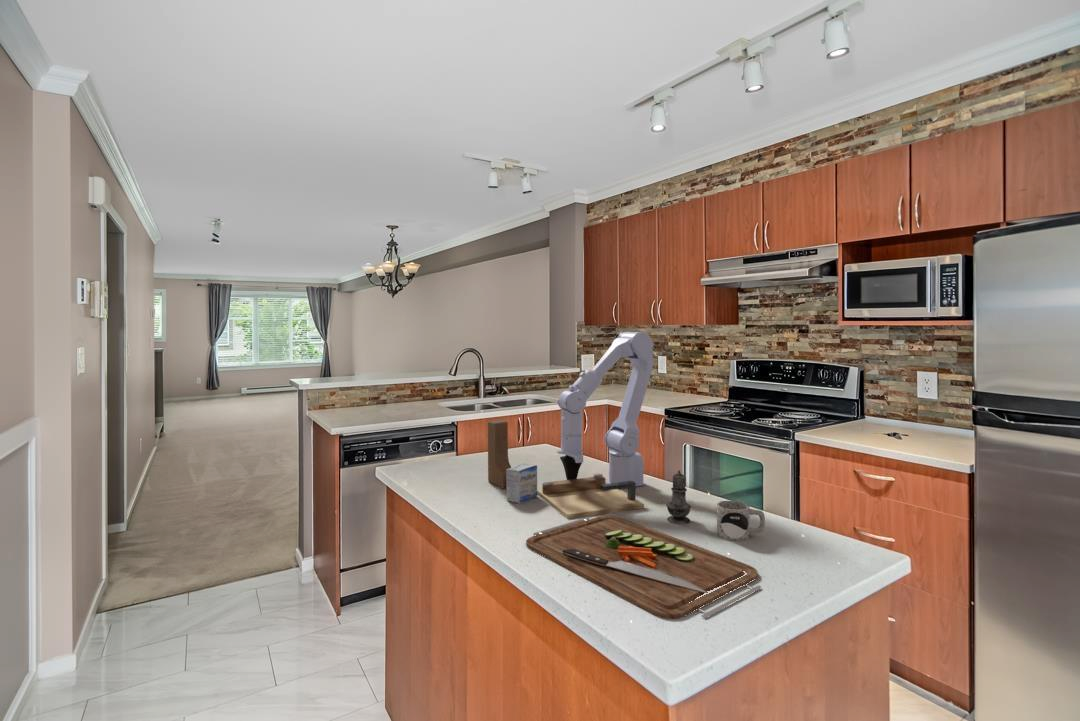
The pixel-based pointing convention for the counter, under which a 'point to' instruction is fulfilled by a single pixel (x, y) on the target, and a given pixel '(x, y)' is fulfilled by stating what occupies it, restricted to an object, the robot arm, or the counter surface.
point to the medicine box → (521, 482)
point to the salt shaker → (678, 501)
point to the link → (573, 484)
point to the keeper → (620, 485)
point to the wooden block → (498, 452)
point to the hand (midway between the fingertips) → (571, 482)
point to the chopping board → (643, 564)
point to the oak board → (590, 502)
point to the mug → (736, 520)
